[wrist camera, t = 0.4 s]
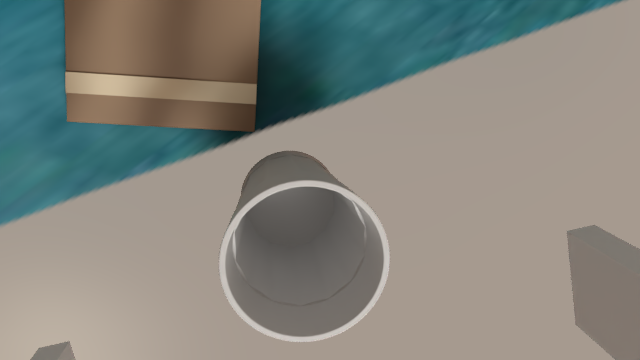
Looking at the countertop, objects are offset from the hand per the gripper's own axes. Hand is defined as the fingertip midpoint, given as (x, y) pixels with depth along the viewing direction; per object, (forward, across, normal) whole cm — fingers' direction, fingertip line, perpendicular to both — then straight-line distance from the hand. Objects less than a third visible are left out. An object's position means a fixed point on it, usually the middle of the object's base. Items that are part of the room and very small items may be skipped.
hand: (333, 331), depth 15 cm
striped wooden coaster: (+24, -6, +9) cm, 26 cm away
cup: (+24, 0, -3) cm, 24 cm away
